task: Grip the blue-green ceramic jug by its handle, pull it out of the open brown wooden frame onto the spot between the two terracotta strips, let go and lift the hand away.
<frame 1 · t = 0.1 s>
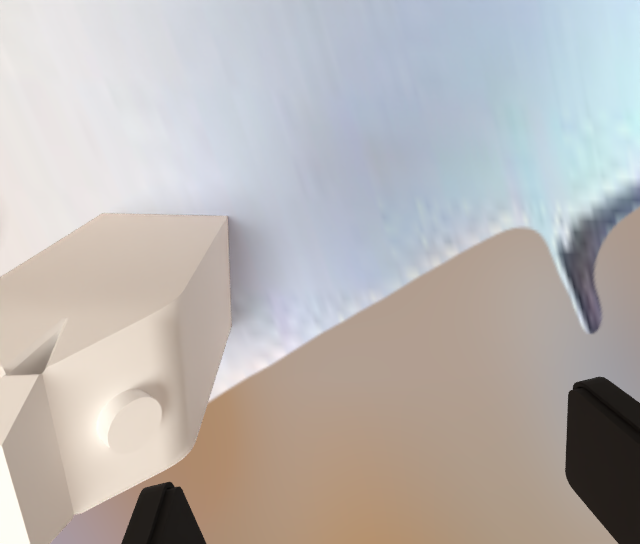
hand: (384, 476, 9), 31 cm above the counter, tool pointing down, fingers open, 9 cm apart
milk: (171, 273, 39), on the counter
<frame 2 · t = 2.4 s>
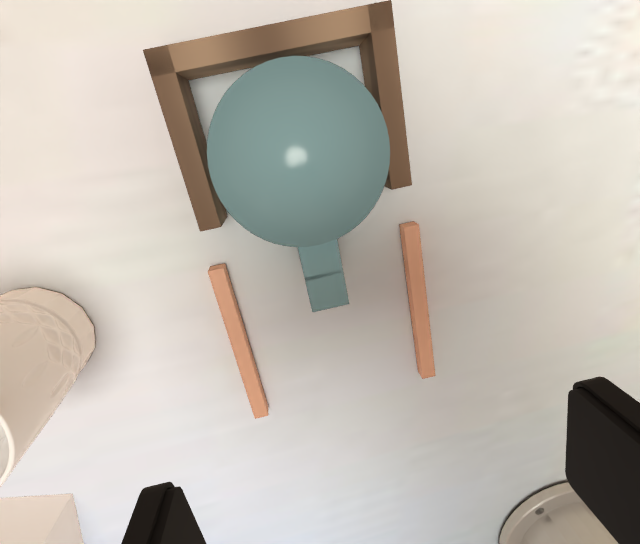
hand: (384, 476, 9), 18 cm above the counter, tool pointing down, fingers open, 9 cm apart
white cup: (45, 331, 26), on the counter
jug: (293, 152, 24), on the counter
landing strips: (329, 321, 28), on the counter
brown wooden frame: (293, 152, 24), on the counter
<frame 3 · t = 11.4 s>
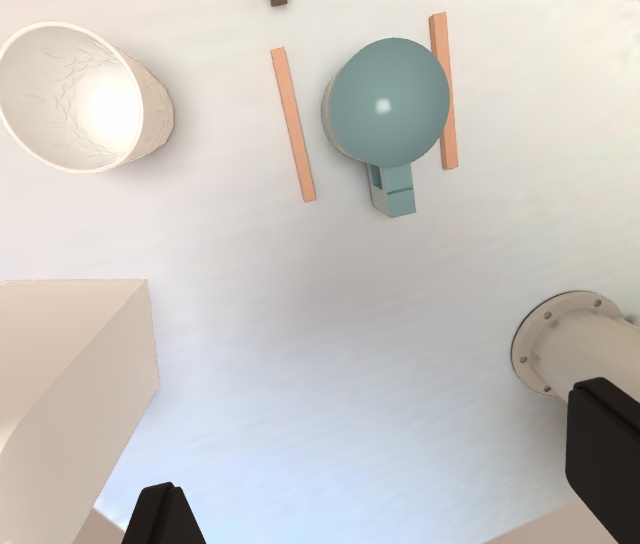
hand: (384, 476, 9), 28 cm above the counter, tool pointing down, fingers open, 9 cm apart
white cup: (132, 111, 31), on the counter
milk: (89, 334, 37), on the counter
jug: (367, 112, 33), on the counter
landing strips: (368, 113, 33), on the counter
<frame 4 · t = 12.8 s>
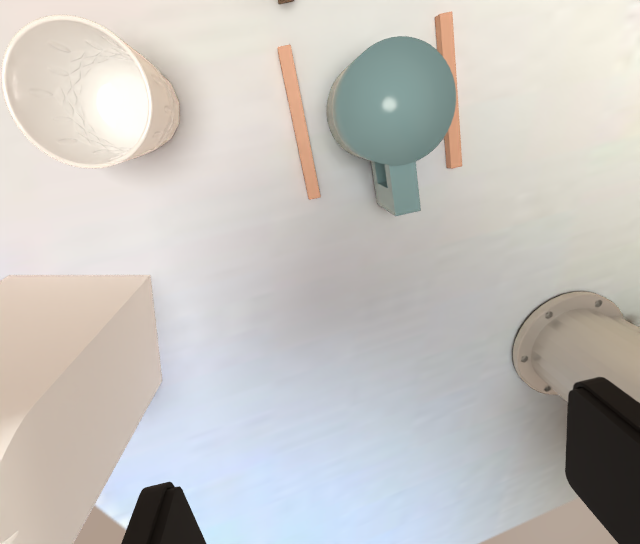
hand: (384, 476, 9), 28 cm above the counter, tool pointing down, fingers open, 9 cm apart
white cup: (138, 107, 31), on the counter
milk: (92, 330, 37), on the counter
jug: (372, 110, 33), on the counter
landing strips: (373, 111, 33), on the counter
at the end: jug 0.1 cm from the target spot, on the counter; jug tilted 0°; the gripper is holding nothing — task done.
